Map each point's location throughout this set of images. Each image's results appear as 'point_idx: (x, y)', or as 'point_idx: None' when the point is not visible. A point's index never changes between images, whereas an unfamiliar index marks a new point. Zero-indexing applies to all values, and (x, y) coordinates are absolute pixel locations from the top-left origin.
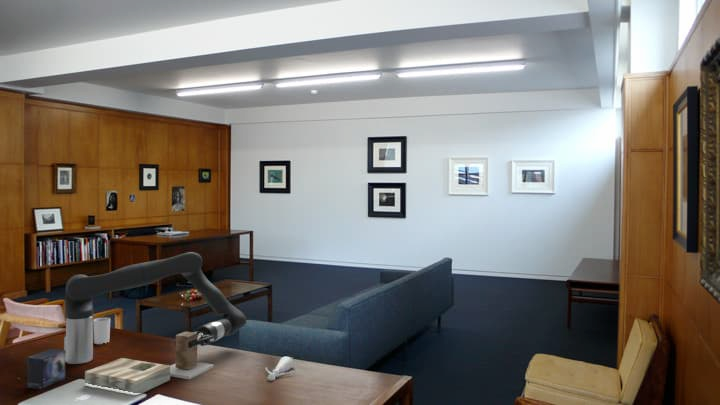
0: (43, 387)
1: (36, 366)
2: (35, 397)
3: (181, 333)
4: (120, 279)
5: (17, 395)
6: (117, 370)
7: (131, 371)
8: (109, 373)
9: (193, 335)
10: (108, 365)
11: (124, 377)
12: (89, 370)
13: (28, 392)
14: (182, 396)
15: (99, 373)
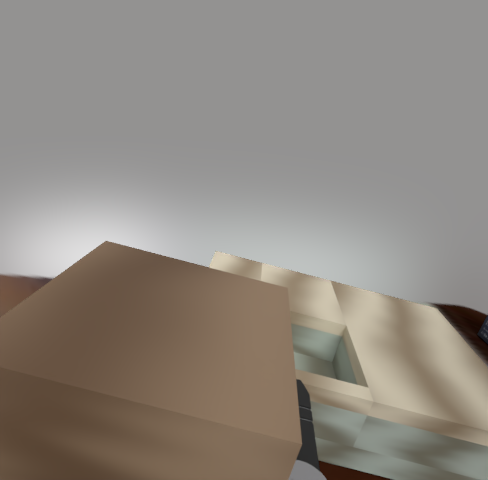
0: (481, 334)
1: None
2: (427, 305)
3: (273, 333)
4: None
5: (471, 314)
6: (358, 311)
7: (299, 301)
8: (352, 294)
9: (38, 302)
10: (452, 351)
11: (273, 269)
12: (439, 315)
13: (477, 324)
14: (37, 286)
15: (379, 295)
